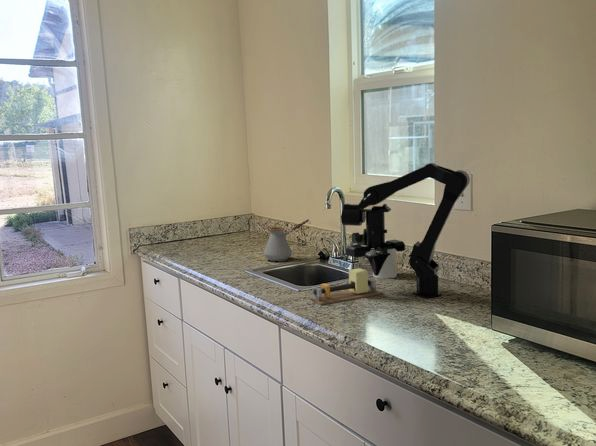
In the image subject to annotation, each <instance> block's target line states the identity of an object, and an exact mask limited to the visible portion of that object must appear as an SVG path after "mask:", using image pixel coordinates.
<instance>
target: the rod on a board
mask: <svg viewBox="0 0 596 446" xmlns="http://www.w3.org/2000/svg"><path fill="white" fill-rule="evenodd" d="M376 282H377V280H375V279H372V278H370V277H368V292H365V293H359V294H356V293H354V292H351V291H349V289H351V288H355V283H350V284H349V283H344V284H339V285H331V286H330V296H329V297H326V296H324V295H322V293H325V288H321V287H320V288H318V287H317V286H313V287H311V288H312V289H311V291H312V296H308V298H307V299H308V300H310V301H312V302H313V303H315V304H318V305H320V306H325V305H329V304H335V303H341V302H346V301H353V300H357V299H362V298H368V297H374V296H378V295H382V293H381V292H380V291H377V288H376V287H377V285H376V284H377V283H376Z"/></svg>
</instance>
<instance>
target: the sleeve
mask: <svg viewBox="0 0 596 446" xmlns="http://www.w3.org/2000/svg"><path fill="white" fill-rule="evenodd" d="M368 275H369V272H368V270H366V269H363V268H360V267H359V268H353V269H348V284H350V283H355V288H351V289H348V290H349V291H351V292H354V293H356V294H359V293H365V292H368V278H369V276H368Z"/></svg>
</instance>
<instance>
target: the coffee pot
mask: <svg viewBox="0 0 596 446" xmlns="http://www.w3.org/2000/svg"><path fill="white" fill-rule="evenodd" d="M306 223H308V224H311V223H312V222H311V221H310V219H306V220H303V222H300V223H298V224H297V225H295V226H293V228H291V229H289V230H287V231H286V232H284V231H285V229H286V228H285V227H283V226H282V227H281V226H279V227H278V226H277V227H276V226H275V227H271V228H270V227H269V228H268V230H269V232H270V234H269V238H268V240H267V243H266V245H265V249H264V251H263V255H264V257H265V258H266V259H268V261H269V260H270V261H269V262H275V261H278V262H285V261H287V260H288V259H289V258H290V257H291V256H292V254H293V251H292V249H291V246H290V244H289V242H288V241H287V238H286V236H287V235H288V234H289V233H291V232H293V231H296V230H298V229H299V228H301V227H302V226H303V225H305V224H306Z"/></svg>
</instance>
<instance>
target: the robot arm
mask: <svg viewBox="0 0 596 446" xmlns="http://www.w3.org/2000/svg"><path fill="white" fill-rule="evenodd" d="M428 178H430V179H433V180H434V181H437V182H439V183H442V184H443V185H444V189H443V194H442V199H441V201H440V203H439V205H438V207H437V210H436V212H435V213H434V215H433V218H432V219H431V222H430V224H429V227H428V229H427V231H426V233H425V234H424V237H423V239H422V240H421V242H420V241H418V240H417V242H415V243H414V244H413V245H412V246H413V247H412V248H411V253H410V254H409V255H407V257H409V260H408V263H409V266H410V268H411V269H412V270H413V271H414V272H415V276H416V282H415V283H416V285H415V286H416V290H415V291H412V294H414V295H416V296H419V297H421V298H424V299H429V298H433V297H439V296H443V293H442V292H441V291H440V292H439V275H438V274H437V273H438V271H439V269H440V265H439V263H438V262H436V261H435V260H434V254H435V249H436V245H437V242H438V240H439V237H440V235H441V233H442V231H443V229H444V226H445V225H446V223H447V221H448V218H449V217H450V215H451V212H452V211H453V208H454V206H455V204H456V202H457V201H458V199H459V198H460V197H461V196H462V194H463V193H464V191H465V190H466V189H467V188H468V186H469V185H470V180H471V179H470V175H469V173H467V172H466V171H465V170H462V169H458V170H453V169H450V168H447V167H444V166H441V165H438V164H436V163H433V162H430V163H427V164H425V165H424V166H421V167H420V168H418V169H416V170H413V171H410V172H409V173H406V174H404V175H403V176H400V177H397V178H395V179H393V180H391V181H386V182H382V183H379V184H374V185H371V186H368V187H367V188H365V190H363V191H364V192H363V197H362V199H361V200H360V202H359V203H357V204H356V203H355V204H351V203H343V204H342V205H343V207H342V210H341V215H340V222H341V225H342V226H356V227H357V226H360V227H361V226H362V225H363V223H365V227H366V228H363V233H362V234H360V233H359V232H353V233H351V242H352V244H353V245H347V246H346V249H345V255H346V256H349V257H352V258H363V257H365V258H366V259H367V261H368V263H369V264H370V267H371V269H372V274H373V273H374V275H375V276H377V275H379V273H380V270H381V268H382V266H383V264H384V262H385V260H386V259H387V257H388V256H389V255H390V253H388V249H395V250H396V252H403V251H406V244H405V242H404V241H402V240H398V239H387V240H388V241H386V242H385V240H386V234H387V233H388V229H387V228H386V227H385V226H386V225H385V213H389V212H390V211H392V208H390V207H389V206H388V205H387V203H384V204H382V205H378V204H380V203H382V202H384V201H385V200H387V199H388V198H390V197H391V196H393V195H394V194H396V193H397V192H398V191H401V190H404V189H405V188H408V187H411V186H412V185H414V184H417V183H419V182H422V181H424V180H426V179H428ZM377 205H378V206H377ZM371 206H372V207H371ZM368 207H371V208H368ZM373 248H374V249H373Z"/></svg>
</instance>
